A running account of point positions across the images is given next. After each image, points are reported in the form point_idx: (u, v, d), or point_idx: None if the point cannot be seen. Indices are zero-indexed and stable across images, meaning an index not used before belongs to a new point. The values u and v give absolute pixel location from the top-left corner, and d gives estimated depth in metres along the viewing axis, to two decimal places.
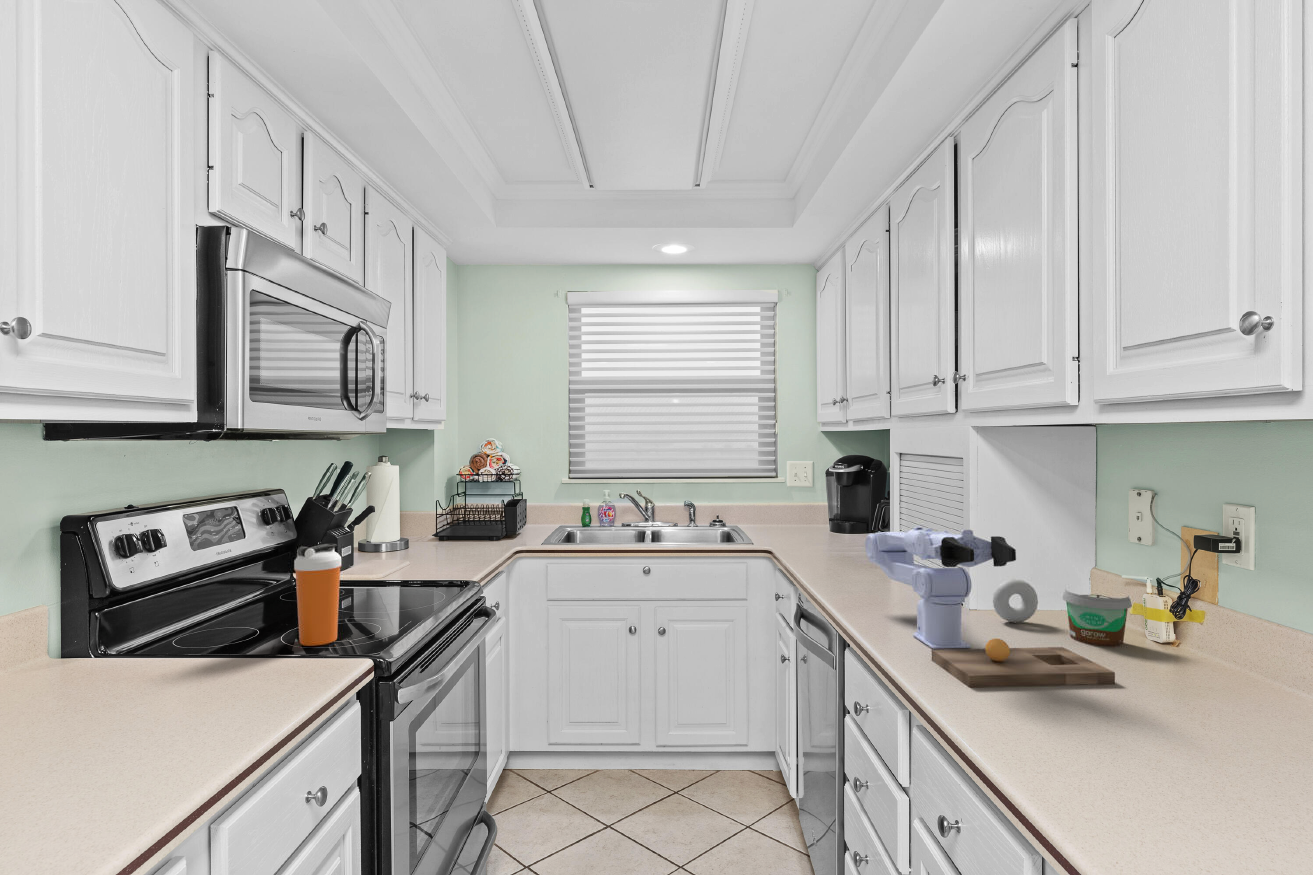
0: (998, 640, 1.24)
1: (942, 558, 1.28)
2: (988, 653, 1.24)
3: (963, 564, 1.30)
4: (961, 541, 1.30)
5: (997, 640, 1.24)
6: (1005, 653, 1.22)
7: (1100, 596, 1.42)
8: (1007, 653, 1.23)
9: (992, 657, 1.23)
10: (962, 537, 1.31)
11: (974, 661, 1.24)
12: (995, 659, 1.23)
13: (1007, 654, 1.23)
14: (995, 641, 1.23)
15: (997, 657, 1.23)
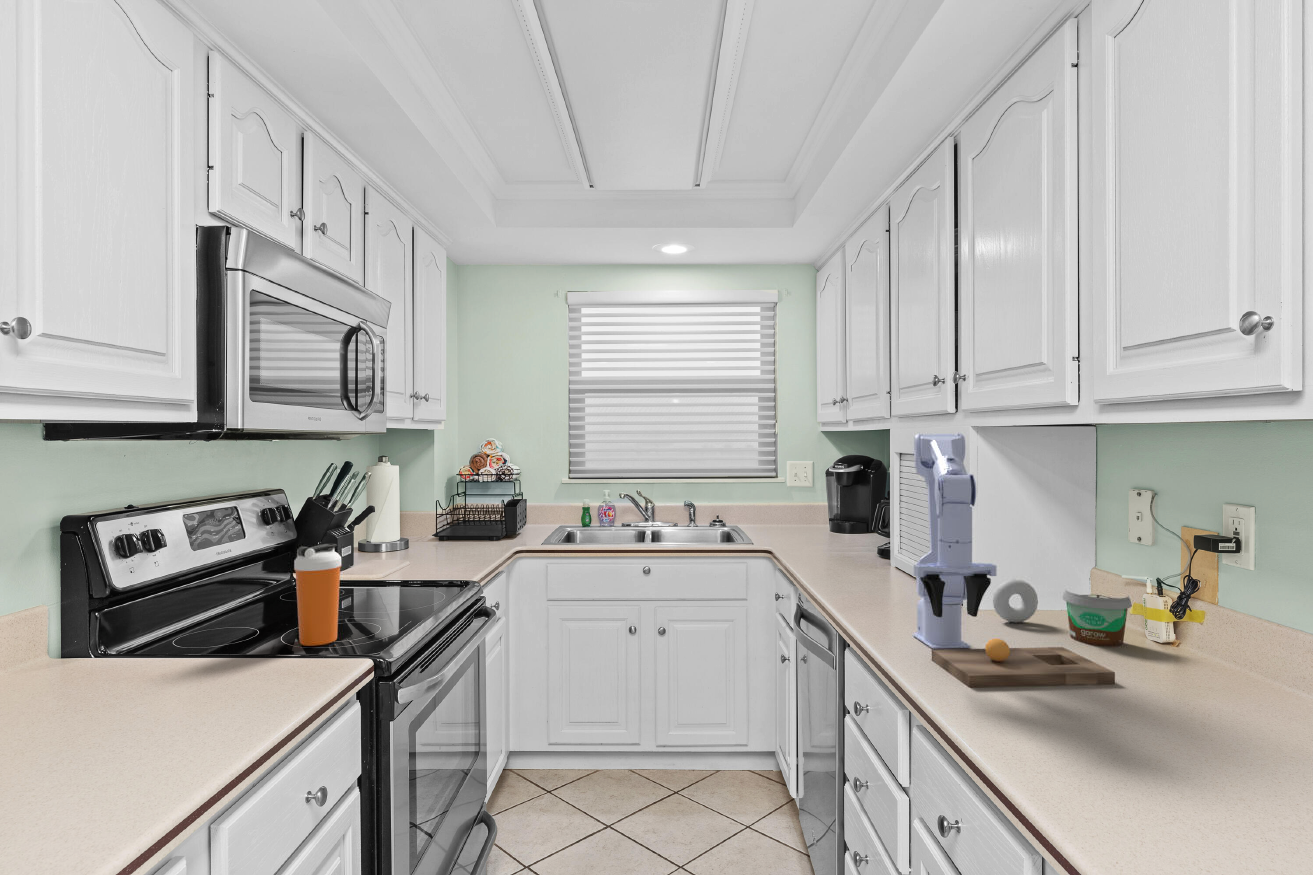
0: (998, 640, 1.24)
1: (922, 577, 1.25)
2: (988, 653, 1.24)
3: None
4: None
5: (997, 640, 1.24)
6: (1005, 653, 1.22)
7: (1100, 596, 1.42)
8: (1007, 653, 1.23)
9: (992, 657, 1.23)
10: None
11: (974, 661, 1.24)
12: (995, 659, 1.23)
13: (1007, 654, 1.23)
14: (995, 641, 1.23)
15: (997, 657, 1.23)
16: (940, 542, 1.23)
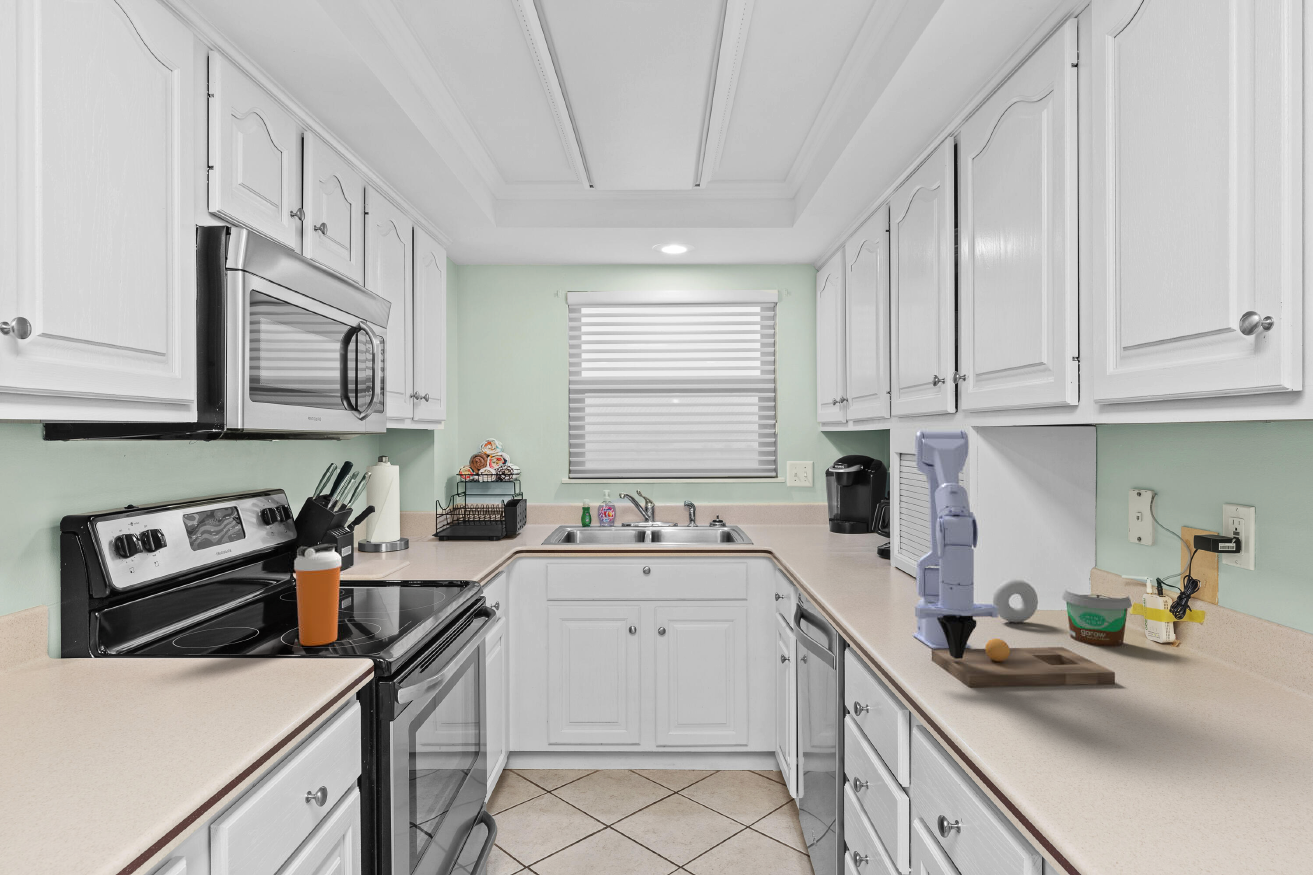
0: (998, 640, 1.24)
1: (939, 618, 1.25)
2: (988, 653, 1.24)
3: None
4: None
5: (997, 640, 1.24)
6: (1005, 653, 1.22)
7: (1100, 596, 1.42)
8: (1007, 653, 1.23)
9: (992, 657, 1.23)
10: None
11: (974, 661, 1.24)
12: (995, 659, 1.23)
13: (1007, 654, 1.23)
14: (995, 641, 1.23)
15: (997, 657, 1.23)
16: (941, 583, 1.23)
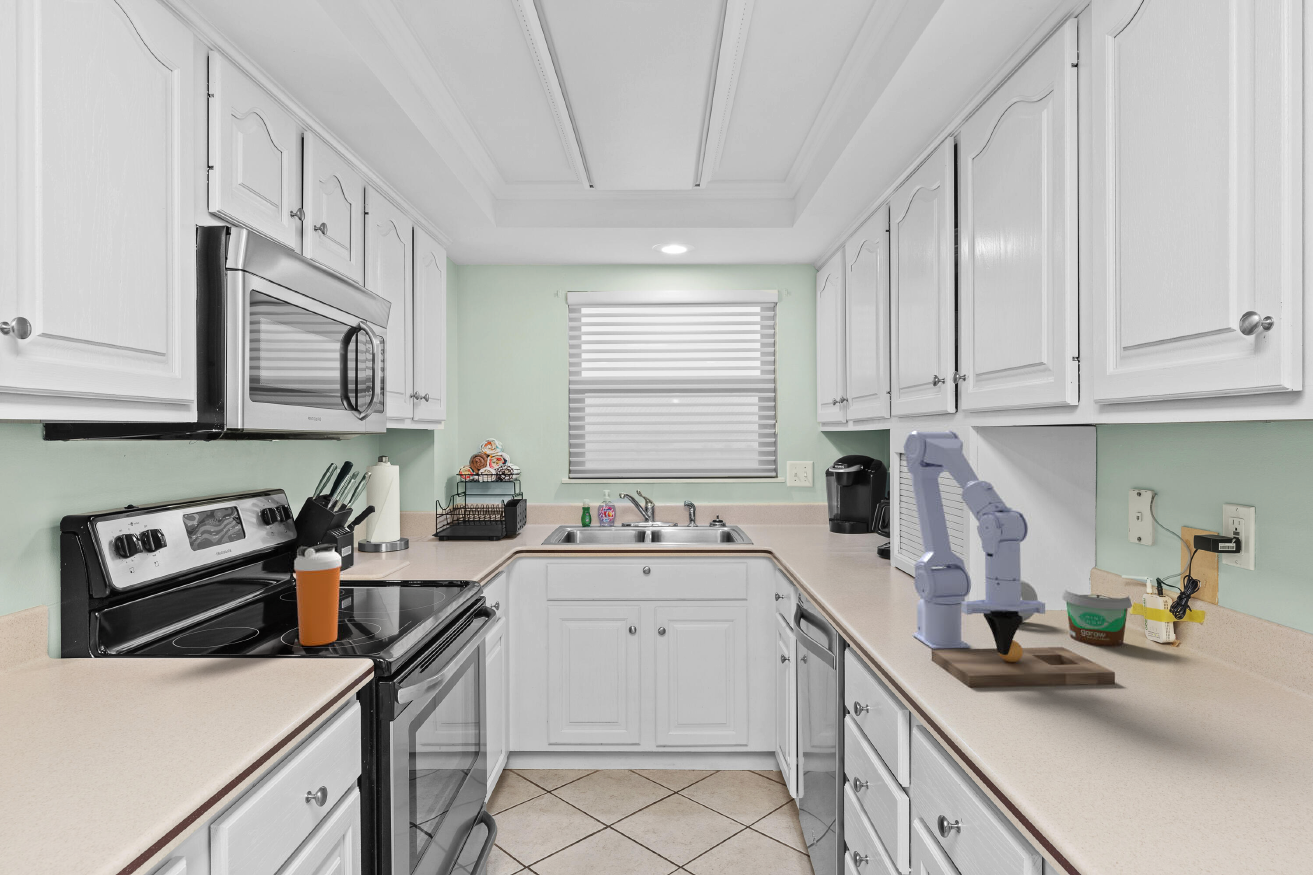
0: (1021, 647, 1.23)
1: (986, 614, 1.25)
2: None
3: None
4: None
5: (1020, 646, 1.23)
6: (1015, 657, 1.22)
7: (1100, 596, 1.42)
8: (1016, 659, 1.22)
9: None
10: None
11: (974, 661, 1.24)
12: None
13: (1015, 659, 1.22)
14: (1019, 645, 1.23)
15: None
16: (988, 579, 1.23)
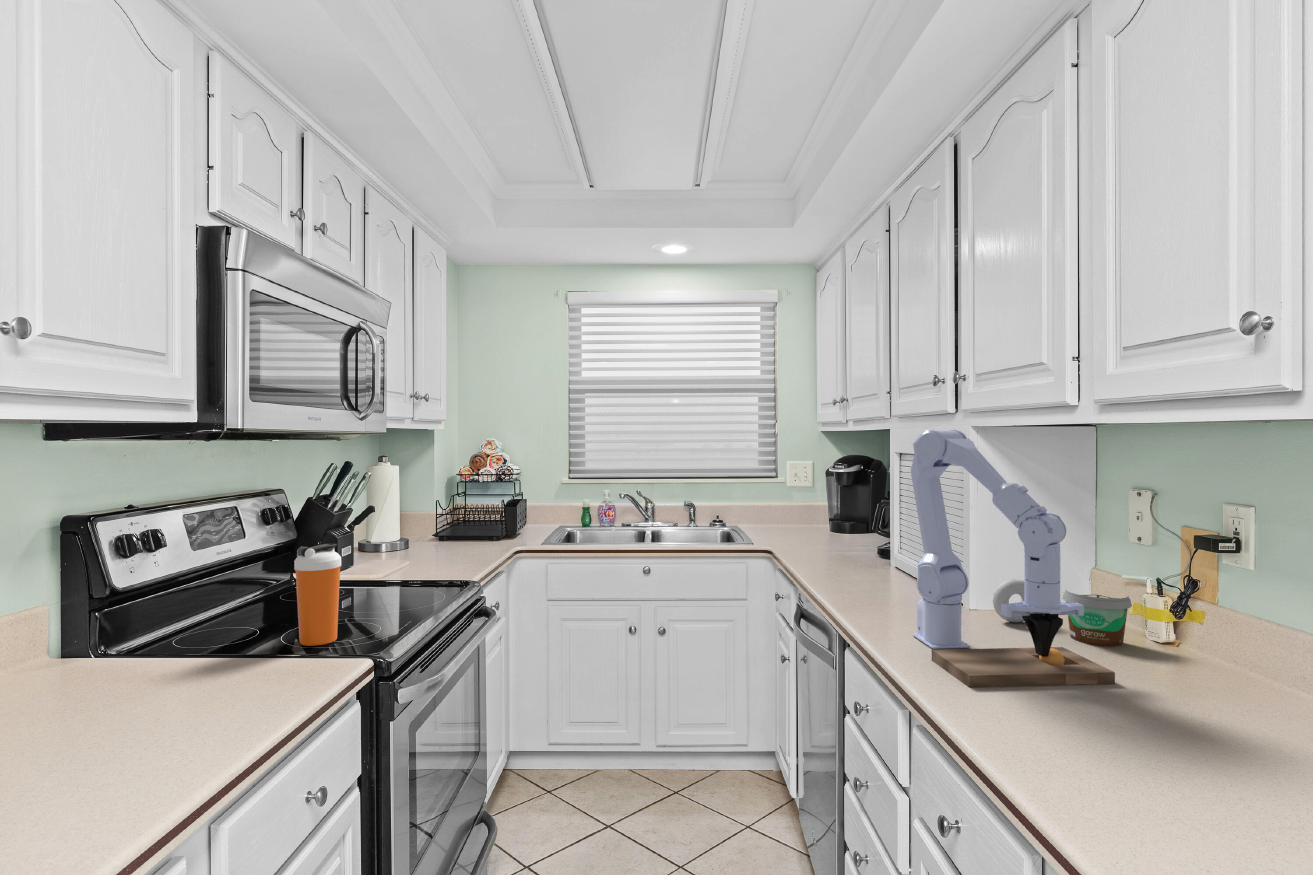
0: (1055, 649, 1.25)
1: (1025, 616, 1.26)
2: (1042, 659, 1.25)
3: None
4: None
5: None
6: (1060, 662, 1.23)
7: (1100, 596, 1.42)
8: (1061, 663, 1.24)
9: None
10: None
11: (974, 661, 1.24)
12: None
13: (1061, 664, 1.24)
14: (1052, 649, 1.25)
15: (1051, 663, 1.24)
16: (1028, 582, 1.24)
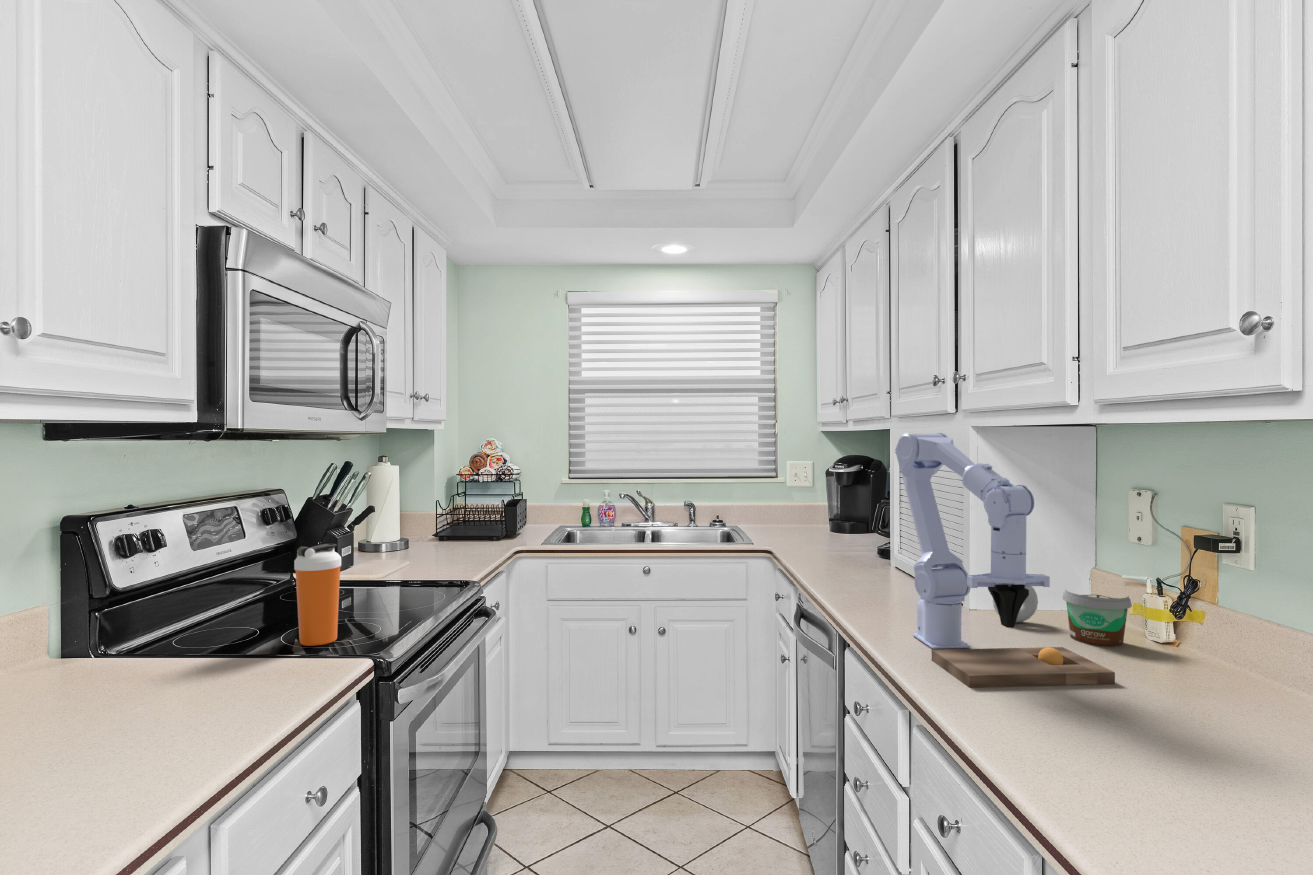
0: (1053, 648, 1.25)
1: (990, 588, 1.25)
2: (1041, 659, 1.25)
3: None
4: None
5: (1052, 648, 1.25)
6: (1059, 661, 1.23)
7: (1100, 596, 1.42)
8: (1060, 662, 1.24)
9: None
10: None
11: (974, 661, 1.24)
12: None
13: (1060, 663, 1.24)
14: (1050, 649, 1.25)
15: (1050, 663, 1.24)
16: (994, 553, 1.24)
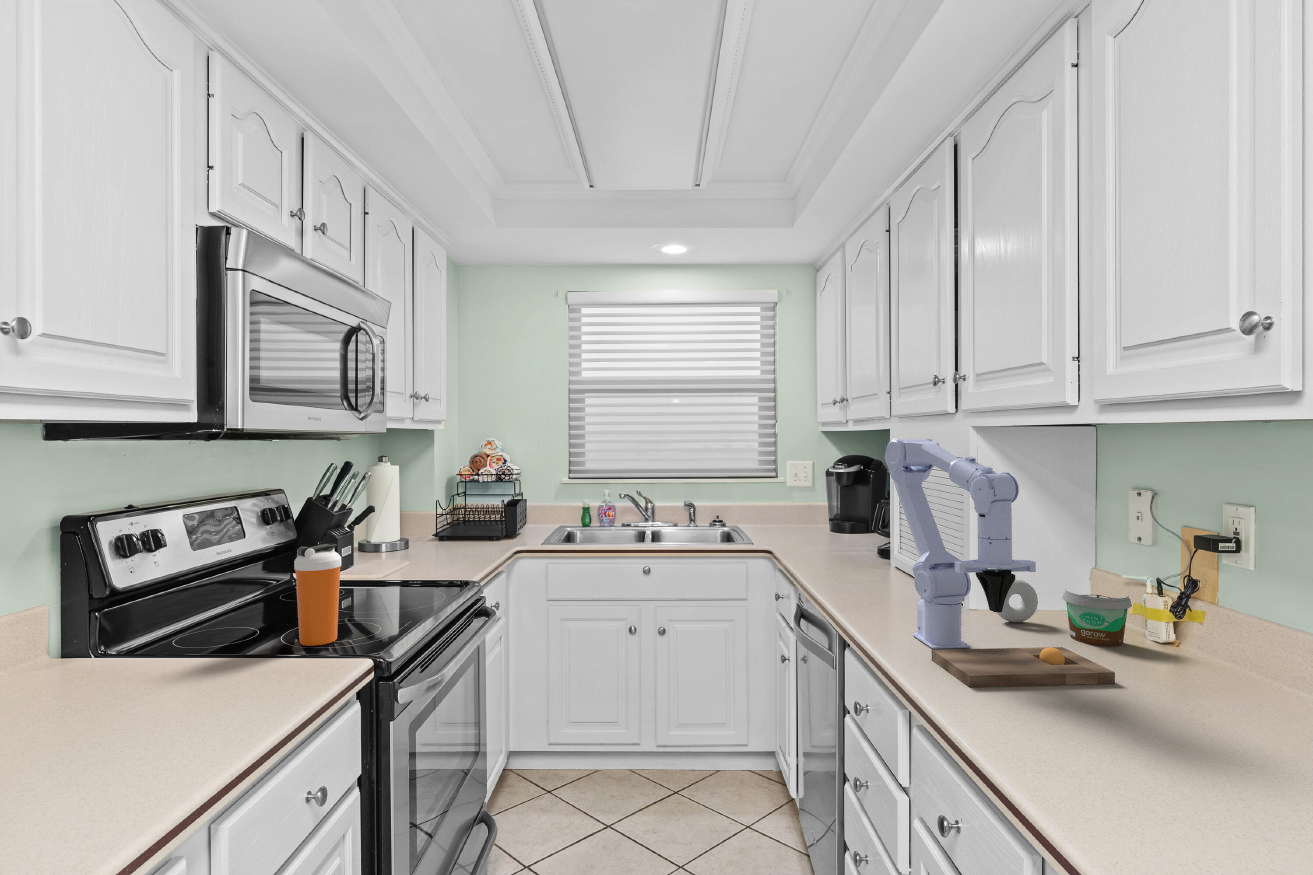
0: (1056, 649, 1.25)
1: (978, 573, 1.28)
2: (1042, 657, 1.25)
3: None
4: None
5: (1054, 648, 1.25)
6: (1060, 662, 1.23)
7: (1100, 596, 1.42)
8: (1062, 662, 1.24)
9: None
10: None
11: (974, 661, 1.24)
12: None
13: (1061, 663, 1.24)
14: (1053, 648, 1.25)
15: (1051, 662, 1.24)
16: (980, 539, 1.27)
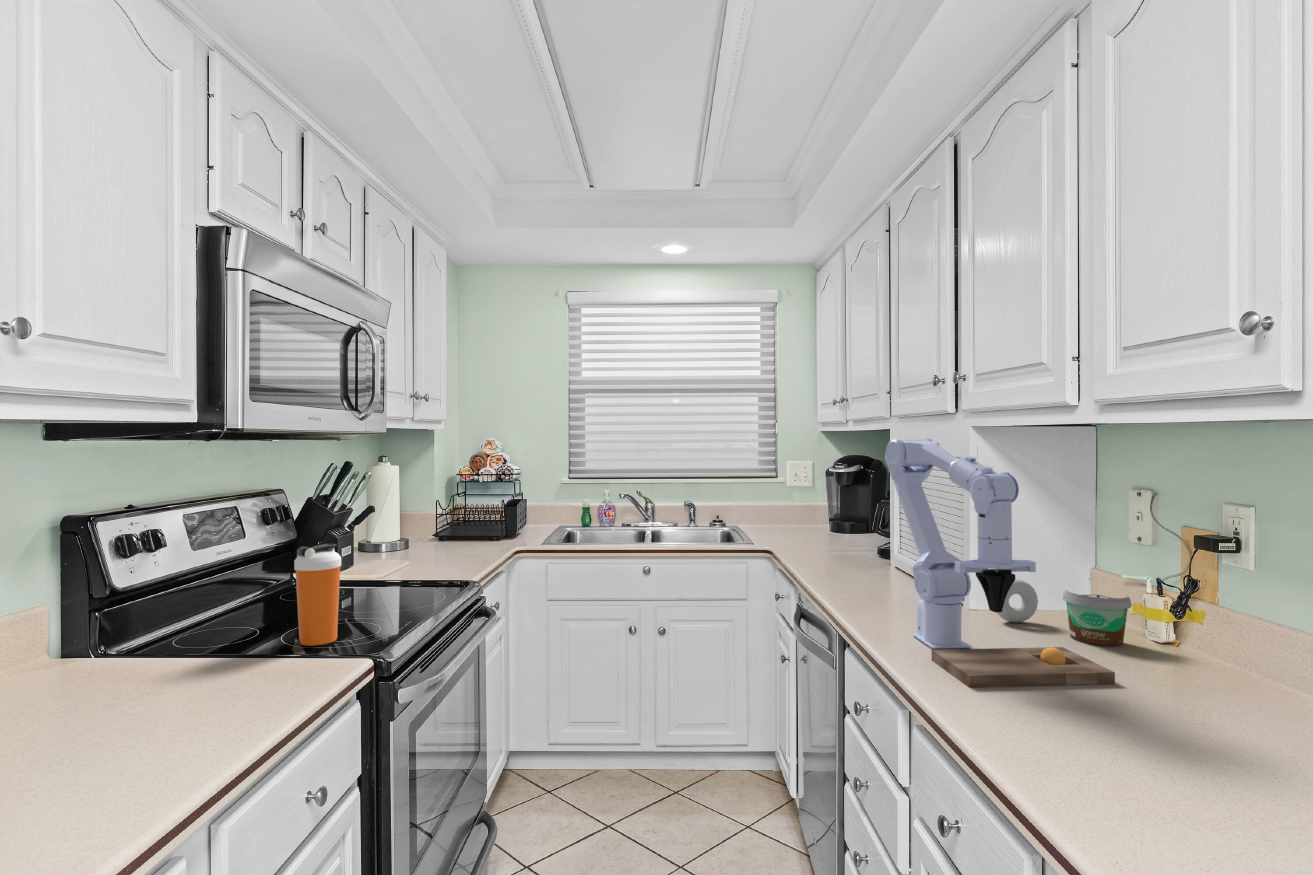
0: (1057, 649, 1.25)
1: (978, 573, 1.28)
2: (1043, 656, 1.25)
3: None
4: None
5: (1056, 648, 1.25)
6: (1061, 662, 1.23)
7: (1100, 596, 1.42)
8: (1062, 662, 1.24)
9: (1046, 661, 1.24)
10: None
11: (974, 661, 1.24)
12: (1049, 663, 1.24)
13: (1062, 663, 1.24)
14: (1055, 648, 1.25)
15: (1052, 662, 1.24)
16: (980, 539, 1.27)
